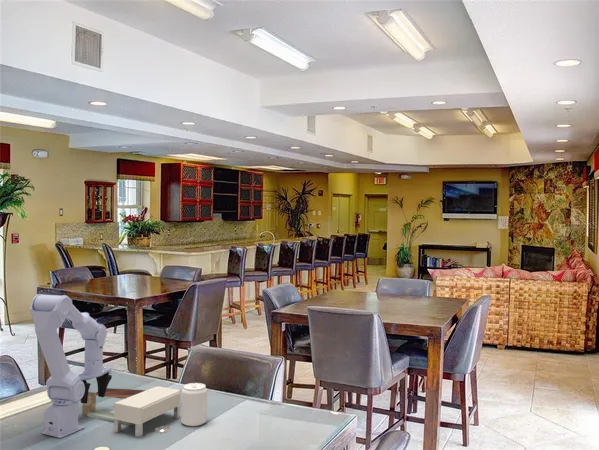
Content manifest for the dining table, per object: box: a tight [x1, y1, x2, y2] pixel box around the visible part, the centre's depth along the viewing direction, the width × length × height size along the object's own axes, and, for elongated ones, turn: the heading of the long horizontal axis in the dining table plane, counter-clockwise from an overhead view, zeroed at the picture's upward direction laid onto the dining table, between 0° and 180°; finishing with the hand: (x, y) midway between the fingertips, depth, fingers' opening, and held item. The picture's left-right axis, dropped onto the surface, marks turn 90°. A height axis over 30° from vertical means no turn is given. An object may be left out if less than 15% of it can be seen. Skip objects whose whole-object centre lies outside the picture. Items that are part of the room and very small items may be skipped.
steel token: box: [154, 425, 171, 434], centre depth 173 cm, size 4×4×1 cm
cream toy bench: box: [113, 385, 182, 439], centre depth 178 cm, size 20×10×9 cm, turn 155°
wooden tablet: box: [95, 387, 147, 399], centre depth 208 cm, size 26×2×10 cm
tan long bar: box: [81, 391, 135, 427], centre depth 183 cm, size 4×21×7 cm, turn 65°
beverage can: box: [180, 382, 208, 427], centre depth 180 cm, size 8×8×12 cm
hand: (92, 399), depth 186 cm, fingers open, 7 cm apart
